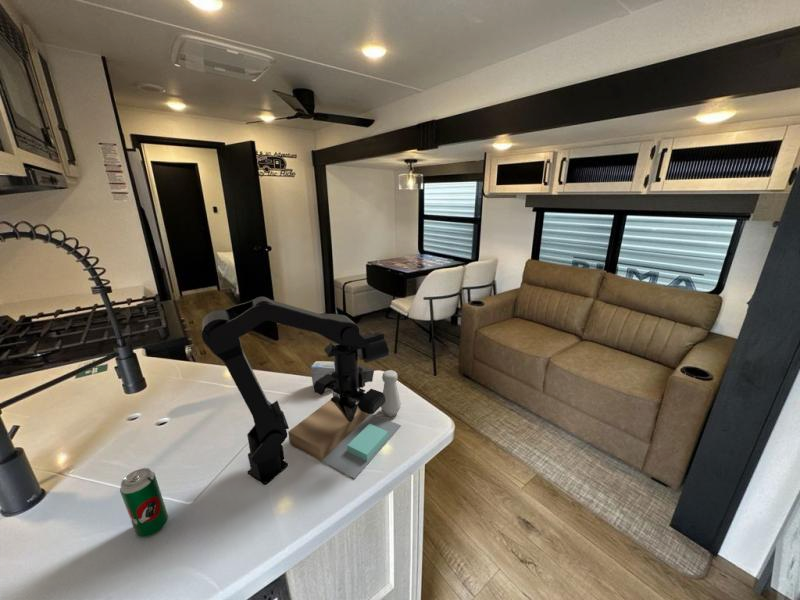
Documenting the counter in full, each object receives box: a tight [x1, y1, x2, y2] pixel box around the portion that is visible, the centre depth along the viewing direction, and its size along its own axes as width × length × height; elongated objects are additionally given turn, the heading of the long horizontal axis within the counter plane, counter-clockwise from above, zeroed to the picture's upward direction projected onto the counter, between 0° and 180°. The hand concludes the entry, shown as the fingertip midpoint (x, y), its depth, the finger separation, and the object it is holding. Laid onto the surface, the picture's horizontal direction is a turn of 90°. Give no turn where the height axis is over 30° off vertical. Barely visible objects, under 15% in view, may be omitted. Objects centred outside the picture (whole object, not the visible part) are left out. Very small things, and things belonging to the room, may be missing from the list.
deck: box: [287, 399, 370, 463], centre depth 86 cm, size 20×11×4 cm, turn 149°
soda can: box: [119, 467, 169, 538], centre depth 59 cm, size 5×5×12 cm
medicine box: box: [310, 360, 335, 392], centre depth 104 cm, size 8×4×9 cm, turn 84°
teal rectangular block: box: [347, 424, 388, 461], centre depth 80 cm, size 9×6×2 cm, turn 148°
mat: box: [321, 413, 402, 480], centre depth 81 cm, size 20×10×1 cm, turn 149°
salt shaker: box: [380, 369, 402, 418], centre depth 91 cm, size 6×6×13 cm
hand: (350, 420), depth 82 cm, fingers closed
